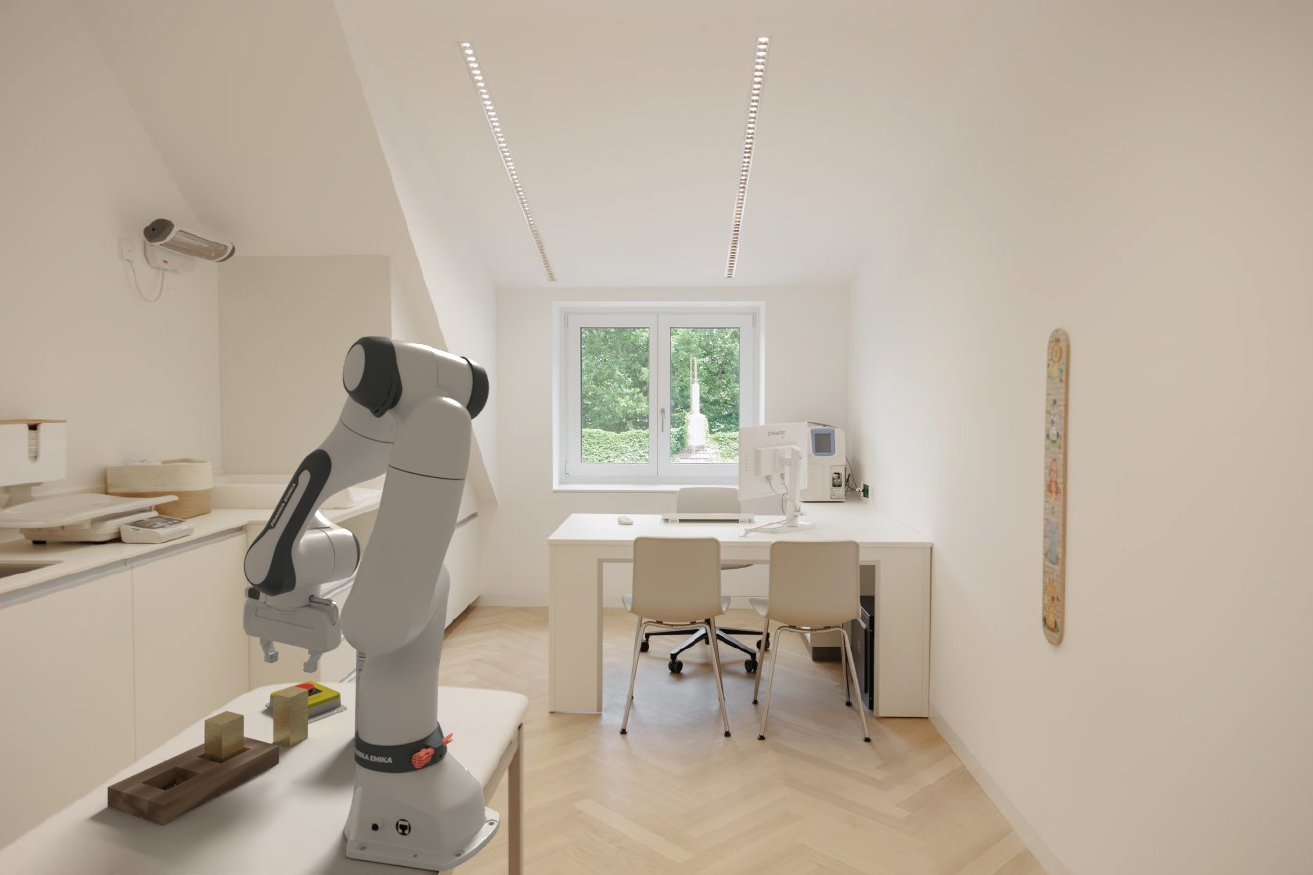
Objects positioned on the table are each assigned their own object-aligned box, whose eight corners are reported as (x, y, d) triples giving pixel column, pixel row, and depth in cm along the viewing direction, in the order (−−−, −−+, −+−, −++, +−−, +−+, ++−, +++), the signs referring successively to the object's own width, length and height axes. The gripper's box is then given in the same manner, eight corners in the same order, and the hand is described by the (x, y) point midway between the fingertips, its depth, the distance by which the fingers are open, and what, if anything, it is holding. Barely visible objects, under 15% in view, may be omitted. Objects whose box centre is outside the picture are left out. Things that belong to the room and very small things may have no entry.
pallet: (278, 762, 123) (279, 745, 123) (162, 825, 104) (162, 804, 104) (227, 748, 127) (228, 732, 127) (107, 806, 109) (107, 787, 109)
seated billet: (243, 767, 121) (243, 715, 121) (221, 778, 118) (222, 724, 117) (226, 762, 123) (226, 710, 122) (204, 773, 119) (204, 720, 119)
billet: (307, 737, 133) (308, 689, 132) (289, 747, 129) (290, 697, 129) (291, 733, 134) (291, 685, 134) (273, 742, 130) (273, 693, 130)
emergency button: (307, 672, 154) (349, 689, 145) (307, 692, 154) (349, 711, 146) (263, 686, 146) (305, 705, 138) (263, 707, 146) (305, 727, 138)
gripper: (351, 596, 130) (348, 671, 130) (267, 580, 137) (264, 651, 138) (323, 604, 124) (320, 683, 125) (237, 587, 131) (234, 661, 132)
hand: (290, 666), depth 131 cm, fingers open, 8 cm apart
